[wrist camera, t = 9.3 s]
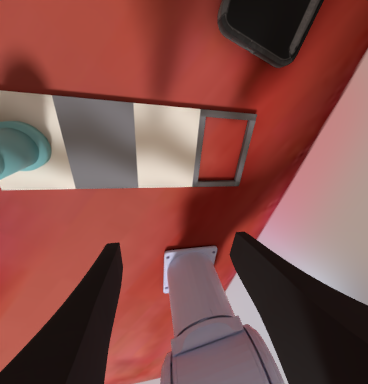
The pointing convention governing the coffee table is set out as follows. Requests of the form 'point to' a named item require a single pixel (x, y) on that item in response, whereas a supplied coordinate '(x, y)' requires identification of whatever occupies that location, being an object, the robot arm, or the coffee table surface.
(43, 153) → the pawn
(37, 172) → the board
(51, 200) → the coffee table surface
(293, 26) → the phone
